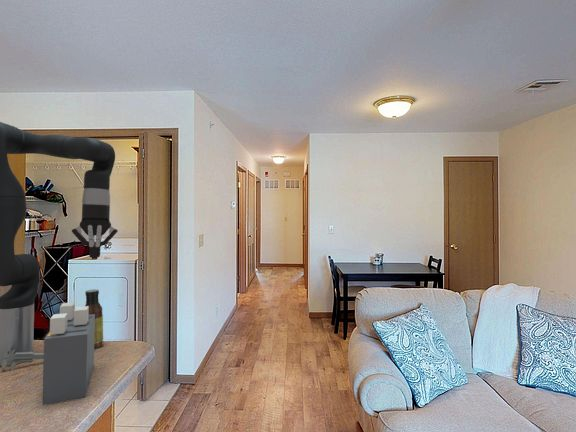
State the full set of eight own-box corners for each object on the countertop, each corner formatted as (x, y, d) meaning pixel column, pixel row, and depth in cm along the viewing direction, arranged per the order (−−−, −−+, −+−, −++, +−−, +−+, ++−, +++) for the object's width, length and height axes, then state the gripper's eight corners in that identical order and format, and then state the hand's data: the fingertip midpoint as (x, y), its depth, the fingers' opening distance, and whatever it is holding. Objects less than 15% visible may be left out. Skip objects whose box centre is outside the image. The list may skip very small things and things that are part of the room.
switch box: (42, 405, 79) (44, 338, 80) (58, 371, 97) (59, 316, 97) (85, 397, 83) (87, 333, 83) (93, 366, 100) (95, 313, 101)
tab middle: (73, 325, 88) (73, 310, 89) (75, 321, 92) (76, 307, 92) (86, 324, 90) (86, 309, 90) (88, 320, 93) (88, 306, 93)
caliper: (1, 373, 96) (2, 351, 96) (2, 371, 96) (2, 350, 96) (83, 356, 108) (84, 337, 108) (83, 355, 109) (84, 336, 109)
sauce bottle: (102, 342, 120) (104, 287, 120) (103, 348, 114) (104, 291, 115) (81, 345, 116) (83, 289, 117) (81, 351, 111) (82, 292, 111)
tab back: (59, 320, 92) (59, 306, 92) (62, 316, 96) (62, 303, 96) (72, 319, 93) (72, 305, 93) (74, 315, 97) (74, 302, 97)
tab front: (49, 334, 81) (50, 318, 81) (53, 329, 85) (53, 314, 85) (64, 333, 83) (64, 317, 83) (67, 328, 86) (67, 313, 86)
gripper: (120, 204, 109) (118, 256, 109) (73, 203, 104) (71, 257, 104) (119, 204, 102) (117, 259, 102) (69, 202, 97) (67, 260, 97)
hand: (94, 258), depth 103 cm, fingers closed
